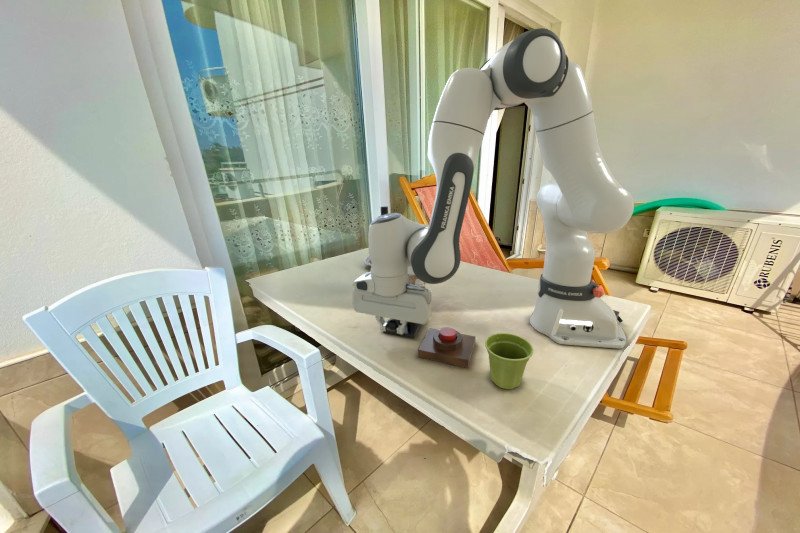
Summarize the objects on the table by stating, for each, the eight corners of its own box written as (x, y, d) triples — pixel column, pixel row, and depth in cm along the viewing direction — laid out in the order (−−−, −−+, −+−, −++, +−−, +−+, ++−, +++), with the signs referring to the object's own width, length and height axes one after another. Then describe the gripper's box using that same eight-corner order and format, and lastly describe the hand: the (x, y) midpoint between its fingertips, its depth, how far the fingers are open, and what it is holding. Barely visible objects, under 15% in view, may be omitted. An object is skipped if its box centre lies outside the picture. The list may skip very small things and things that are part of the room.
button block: (475, 343, 77) (475, 330, 76) (468, 368, 69) (468, 353, 67) (429, 335, 82) (429, 322, 80) (418, 357, 73) (417, 343, 72)
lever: (398, 334, 77) (395, 329, 75) (387, 331, 78) (383, 326, 76) (411, 290, 84) (409, 284, 81) (401, 289, 85) (398, 283, 82)
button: (457, 334, 75) (457, 328, 74) (454, 343, 72) (454, 337, 71) (441, 331, 76) (441, 325, 76) (437, 340, 73) (437, 334, 72)
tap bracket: (413, 338, 80) (413, 295, 76) (383, 332, 84) (380, 290, 79) (425, 320, 89) (425, 280, 85) (396, 315, 92) (395, 276, 88)
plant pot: (479, 389, 63) (482, 354, 59) (484, 361, 71) (487, 329, 68) (528, 400, 59) (534, 364, 56) (528, 370, 68) (532, 337, 64)
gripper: (435, 282, 72) (435, 332, 77) (359, 272, 79) (363, 318, 84) (427, 293, 66) (427, 346, 71) (346, 281, 74) (352, 330, 79)
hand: (392, 331), depth 78 cm, fingers closed on lever, 3 cm apart
